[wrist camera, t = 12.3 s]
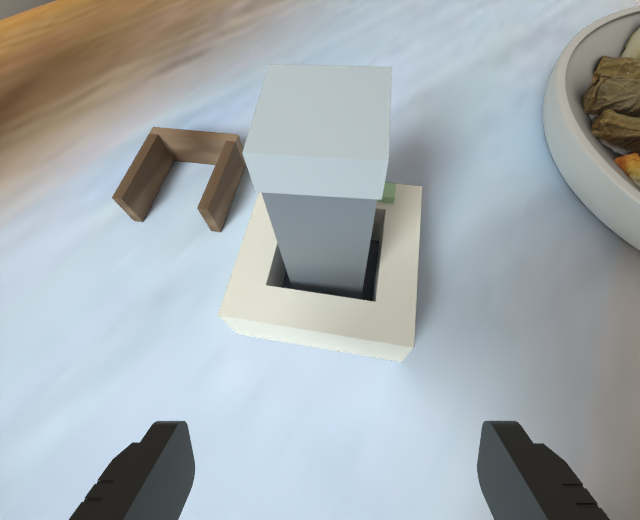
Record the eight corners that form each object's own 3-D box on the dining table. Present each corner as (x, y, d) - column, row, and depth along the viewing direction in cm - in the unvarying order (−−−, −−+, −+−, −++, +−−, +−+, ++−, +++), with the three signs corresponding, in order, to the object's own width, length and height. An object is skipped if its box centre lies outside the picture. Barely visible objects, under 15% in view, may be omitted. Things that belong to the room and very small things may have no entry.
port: (236, 333, 22) (214, 312, 18) (275, 204, 27) (264, 164, 23) (401, 362, 21) (416, 344, 17) (410, 220, 26) (424, 180, 22)
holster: (134, 220, 27) (111, 197, 25) (169, 153, 31) (153, 126, 28) (220, 232, 26) (207, 209, 24) (247, 161, 30) (238, 134, 27)
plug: (293, 301, 23) (242, 152, 11) (303, 243, 26) (269, 64, 13) (361, 308, 23) (388, 160, 10) (365, 247, 25) (391, 66, 13)
